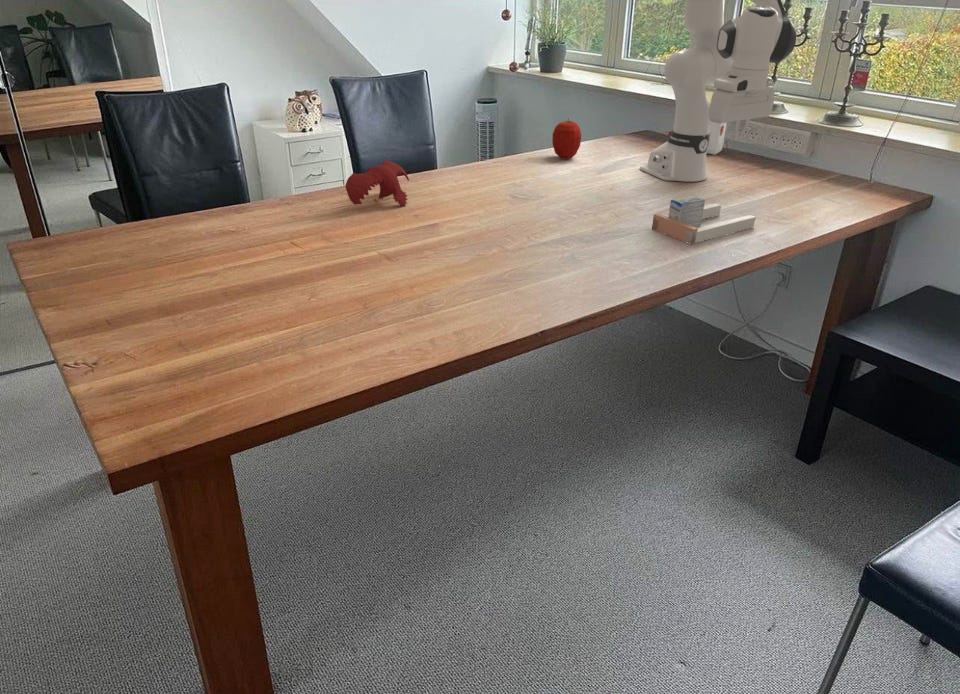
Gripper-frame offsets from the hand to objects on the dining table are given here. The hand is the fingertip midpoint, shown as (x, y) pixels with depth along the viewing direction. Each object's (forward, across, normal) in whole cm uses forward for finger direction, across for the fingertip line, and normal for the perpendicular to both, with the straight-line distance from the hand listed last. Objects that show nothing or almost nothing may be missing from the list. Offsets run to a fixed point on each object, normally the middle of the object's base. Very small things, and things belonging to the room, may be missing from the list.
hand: (736, 137), depth 178 cm
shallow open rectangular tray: (+23, +7, 0) cm, 24 cm away
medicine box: (+23, +13, -1) cm, 27 cm away
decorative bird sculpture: (+24, +69, -62) cm, 95 cm away
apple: (+24, -8, -76) cm, 80 cm away
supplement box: (+24, -61, -58) cm, 87 cm away
